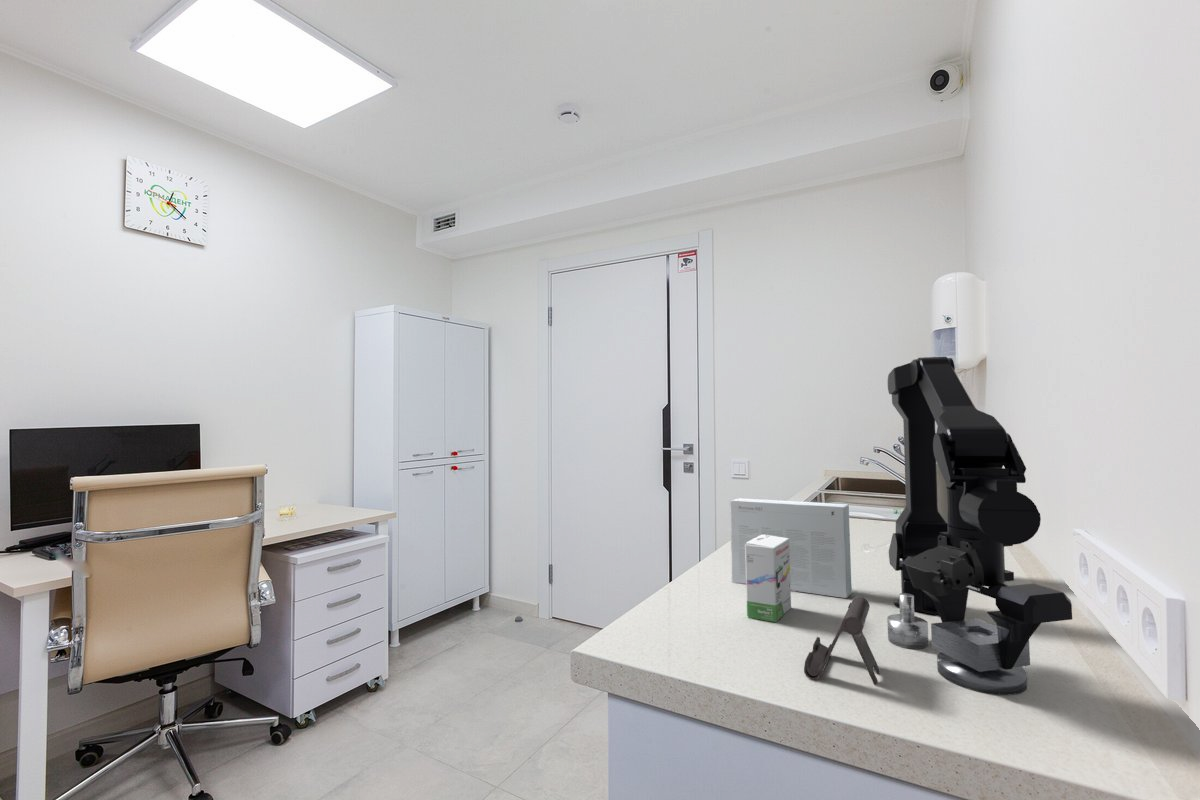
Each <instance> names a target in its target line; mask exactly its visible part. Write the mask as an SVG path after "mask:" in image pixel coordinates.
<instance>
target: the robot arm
mask: <svg viewBox="0 0 1200 800" xmlns="http://www.w3.org/2000/svg"><path fill="white" fill-rule="evenodd" d="M955 368H956V367H955V361H954V359H953V358H952V357H948V356H930V357H929V356H928V357H918V358H917V359H912V360H911V362H909V363H906V364H902V365H900V366H899V365H898V366H895V367H894V368H892V369H891V371H890V372H889V373H888V376H887V391H888V394H889V395H891V403H892V406H893V407H894V408H895V410H896V412H897V413H898V414H899V415H900V416H901V418H902V421H903V451H904V453H903V454H904V455H903V456H904V482H905V483H904V485H905V487H904V489H905V507H904V509H903V510H902V511H901V513H900V514H899V516H898V518H896V521H895V532H893V533H892V536H891V540H890V545H889V547H888V559H889V560H888V561H889V564H890V566H891V567H892V569H894V571H896V572H898V571H899V572H900V581H901V583H900V584H901V585H900V587H901V593H908V594H912V595H914V611H916V612H921V613H926V614H930V615H936V616H937V615H939V617H940V620H941V622H950V621H959V620H966V619H965V617H966V611H967V605H968V604H967V603H968V596H969V591H972V592H974V593H978V594H981V595H984V596H986V597H989V598H992V599H995V607H997V609H998V610H992V611H986V612H987V615H988V616H989V617H990V618H991V619H992V620H993V622H994V623H995V624H996V626H997V630H998V643H999V655H1000V661H1001V666H1002V668H1003V669H1005V670H1008V669H1012V668H1013V666H1014V664H1015V663H1016V661H1017V659H1018V658H1019V656H1020V654H1021V652H1022V651H1023V649H1024V647H1025V645H1026V644H1027V642H1028V640H1029V641H1030V639H1031V638H1032V636H1033V635H1034V633H1035V632H1036V631H1037V629H1038V628H1040V625H1041V624H1046V623H1053V622H1061V621H1062V622H1063V621H1072V620H1073V605H1072V601H1071V599H1070V598H1069V597H1068V596H1067V594H1066V593H1064V591H1059V590H1057V589H1053V588H1050V587H1047V586H1043V585H1040V584H1037V583H1025V584H1013V585H1007V584H1006V582H1013V581H1015V573H1014V571H1011V570H1007V569H1006V567H1005V565H1006V563H1005V547H1013V546H1014V545H1019V544H1020V545H1021V544H1022V543H1026V542H1028V541H1029V540H1031V539H1032V538H1034V537H1035V535H1036V534H1037V533H1038V530H1039V528H1040V526H1041V520H1042V518H1041V513H1040V512H1039V510H1038V508H1037V505H1036V504H1035V503H1034V502H1033V500H1032V499H1031V498H1030V497H1028V496H1027V495H1025V494H1023V493H1022V492H1019V491H1018V484H1025V483H1026V482H1027V481H1026V480H1027V479H1026V476H1025V473H1026V471H1027V467H1026V464H1025V463H1024V461H1023V459H1022V456H1021V455H1020V452H1019V450H1018V449H1017V446H1016V444H1015V443H1014V442H1013V441H1014V440H1013V439H1012V437H1011V435H1010V434H1009V433H1008V432H1007V430H1006V429H1005V427H1003V425H1002V424H1001V423H1000V422H999V421H998V420H997V418H995V416H993V415H991V414H988V413H986V412H983V411H981V410H978V409H977V408H976V407H975V405H974V403H973V400H971V398H970V396H969V394H968V392H967V390H966V388H965V387H964V385H963V384H962V381H961V380H960V379H959V377H958V375H957V373H956V369H955ZM936 426H937V428H936ZM935 433H936V434H935ZM936 461H937V464H938V466H939V468H940V471H941V473H942V475H943V478H944V480H945V481H946V484H947V485H946V486H947V487H946V499H947V523H946V522H945V520H944V519H943V518H942V516H941V515H940V513H939V512H938V504H937V471H936ZM1003 467H1004V468H1003ZM893 606H895V607H899V608H900V603H899V599H897V600H896V601H893Z"/></svg>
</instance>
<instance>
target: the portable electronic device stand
mask: <svg viewBox="0 0 1200 800" xmlns="http://www.w3.org/2000/svg"><path fill="white" fill-rule="evenodd" d="M847 608H848V609H847V611H846V613H845V615H844V616H843V619H842V621H841V622H840V625H839V627H838V629H837V632H836V633H835V636H834V638H833V641H832V642H831V643H829V646H828V647H827V646H826V645H825V644H823V643H821V638H820V637H819V636H817V637H816V638H815V641H814V642H813V645H812V651H809V652H808V654H807V656H806V658H805V660H804V666H803V667H804V668H803V672H804V675H805V676H806V677H807V678H808V679H809V680H812V681H817V680H819V679H820V678H821V676H822V675H823V673H824V669H825V667H826V665H827V663H828V661H829V659H830V656H831V654H832V653H833V649H834V648H835V646H836V645H837V642H838V640H839V637H840V635H841V634H842V633H846V634H849V635H851V637H852V639H853V642H854V644H855V646H856V648H857V650H858V653H859V655H860V657H861V659H862V662H863V664H864V666H865V668H866V670H867V672H868V675H869V677H870V678H871V680H872V683H873V685H874V686H875V685H876V686H877V685H878V682H879V680H878V678H877V675H880V673H881V671H880V670H881V669H880V666H879V665H878V662H877V661H876V659H875V655H874V654H873V652H872V650H871V648H870V646H869V644H868V641H867V639H866V637H865V635H864V634H865V633H864V632H863V629H864V626H865V623H866V620H867V616H868V614H869V611H870V602H869V601H868V600H867V598H865V597H863V596H855V597H854V598H852V600H851V602H849V604H848V607H847ZM876 674H877V675H876Z"/></svg>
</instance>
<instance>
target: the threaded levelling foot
mask: <svg viewBox="0 0 1200 800" xmlns="http://www.w3.org/2000/svg"><path fill="white" fill-rule="evenodd" d="M898 596H899V599H898V600H899V603H900V607H899V613H893V614H889V615H888V616H887V620H886V621H887V622H886V623H887V640H888V642H889V643H891V644H892V645H894V646H897V647H901V648H903V649H904V648H905V649H909V650H910V649H911V650H922V649H927V648H928V647H929V622H928V621H927V620H926V619H924V618H922V617H919V616H915V610H914V595H912V594H908V593H902V592H900V593H898Z"/></svg>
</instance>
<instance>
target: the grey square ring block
mask: <svg viewBox="0 0 1200 800" xmlns="http://www.w3.org/2000/svg"><path fill="white" fill-rule="evenodd" d="M930 631H931V632H930V633H931V634H930V635H931V648H932V649H934V650H935V651H938V652H939V653H940V652H942V653H944V654H945V655H947V656H949V657H951V658H953V659H955V660H957V661H959V662H961V663H963V664H965V665H967V666H969V667H971V668H973V669H975V670H977V671H979V672H983V671H990V670H998V669H1003V668H1002V666H1001V661H1000V655H999V643H998V630H997V625H994V624H992V623H990V622H987V621H985V620H983V619H979V618H970V619H964V620H959V621H950V622H942V621H941V622H934V623H933V622H932V623H930ZM970 632H980V633H984V634H987V635H988V636H982V637H977V636H975V635H973V634H970ZM1030 653H1031V651H1030V639H1029V640H1028V642H1027V644H1026V645H1025V647H1024V649H1023V651H1022V652H1021V654H1020V656H1019V658H1018V659H1017V661H1016V663H1015V664H1014V666H1013V667H1021V666H1022V667H1027V666H1031V657H1030V656H1031V655H1030Z"/></svg>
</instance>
